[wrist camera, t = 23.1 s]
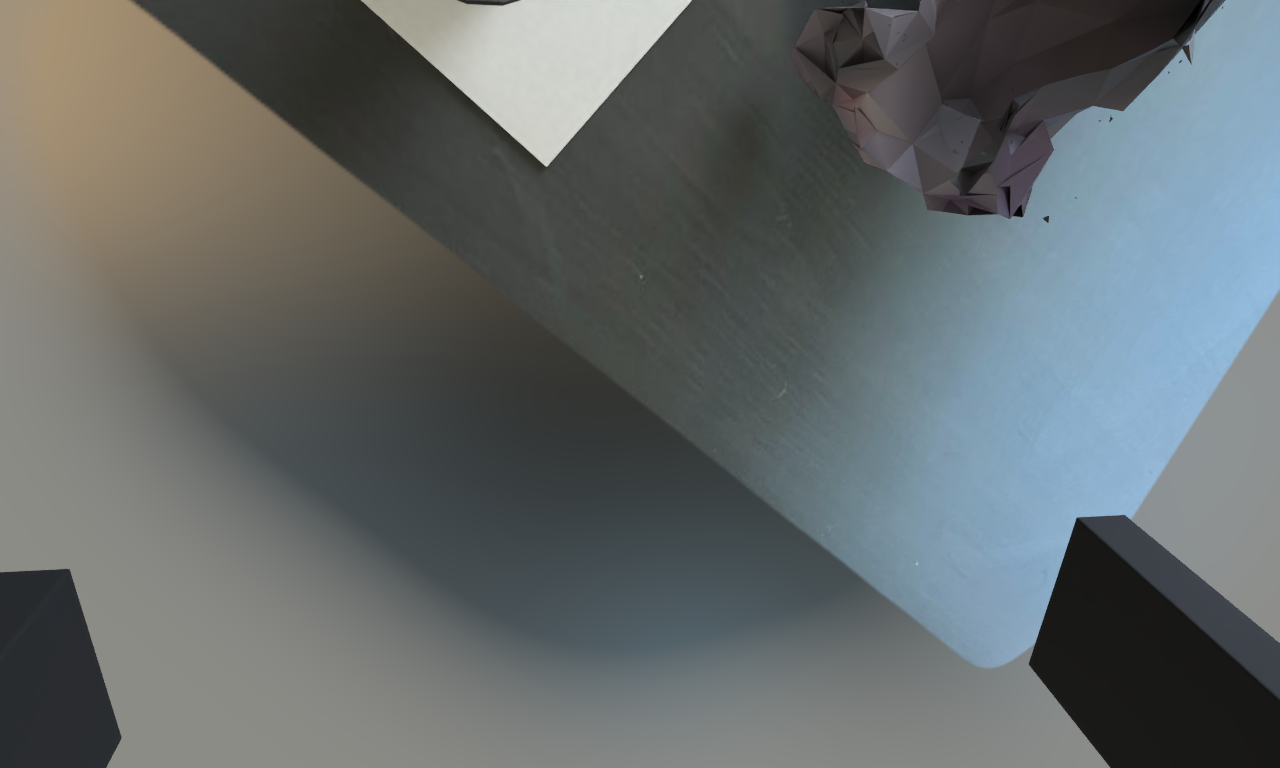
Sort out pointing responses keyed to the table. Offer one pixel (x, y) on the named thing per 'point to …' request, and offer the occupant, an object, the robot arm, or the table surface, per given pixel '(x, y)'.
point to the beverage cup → (489, 2)
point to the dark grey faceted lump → (984, 83)
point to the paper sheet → (533, 56)
